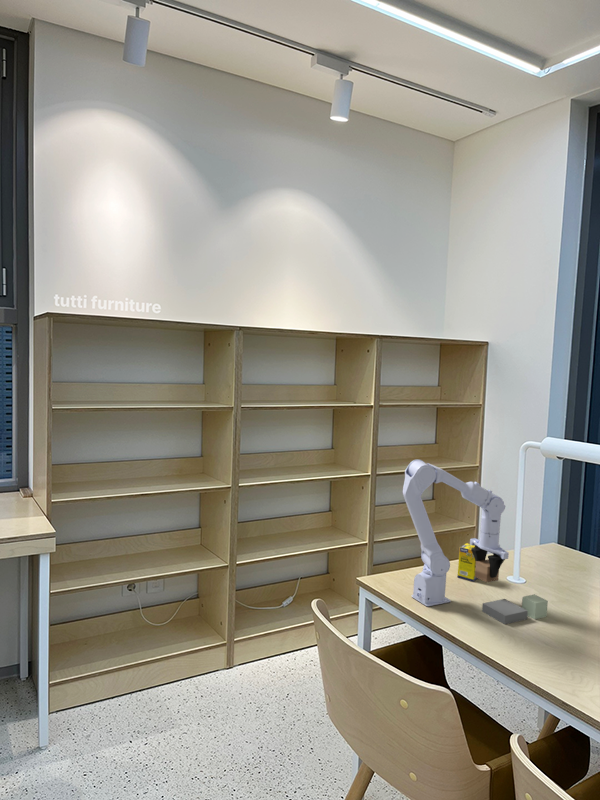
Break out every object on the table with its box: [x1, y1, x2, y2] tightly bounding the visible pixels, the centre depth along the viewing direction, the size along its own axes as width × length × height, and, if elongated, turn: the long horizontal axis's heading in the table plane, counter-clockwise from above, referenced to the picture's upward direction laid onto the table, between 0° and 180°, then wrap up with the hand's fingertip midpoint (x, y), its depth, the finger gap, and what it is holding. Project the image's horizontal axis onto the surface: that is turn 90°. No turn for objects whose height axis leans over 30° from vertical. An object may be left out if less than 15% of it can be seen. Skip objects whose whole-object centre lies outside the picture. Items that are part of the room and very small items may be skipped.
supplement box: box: [457, 542, 478, 583], centre depth 206 cm, size 6×6×11 cm
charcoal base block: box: [481, 598, 528, 625], centre depth 177 cm, size 9×9×3 cm
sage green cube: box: [521, 594, 549, 620], centre depth 178 cm, size 5×5×5 cm
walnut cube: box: [475, 559, 500, 583], centre depth 187 cm, size 5×5×5 cm
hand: (486, 573), depth 187 cm, fingers closed on walnut cube, 5 cm apart
